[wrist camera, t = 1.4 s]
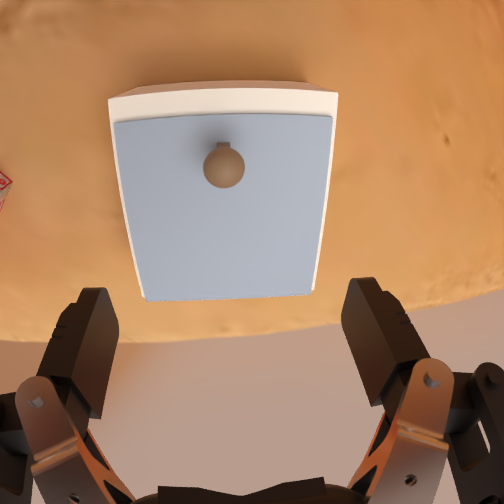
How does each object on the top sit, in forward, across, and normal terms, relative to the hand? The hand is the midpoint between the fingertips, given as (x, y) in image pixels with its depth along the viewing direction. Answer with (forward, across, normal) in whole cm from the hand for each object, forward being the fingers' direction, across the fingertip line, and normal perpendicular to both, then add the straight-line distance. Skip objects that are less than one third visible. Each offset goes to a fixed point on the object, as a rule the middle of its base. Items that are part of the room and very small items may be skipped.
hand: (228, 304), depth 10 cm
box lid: (+17, 0, +6) cm, 18 cm away
